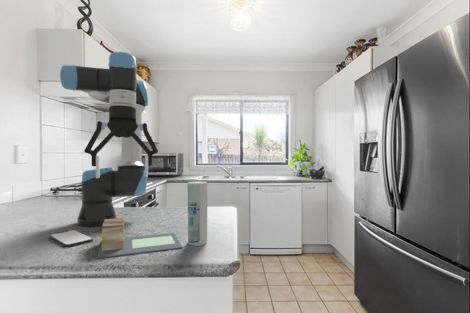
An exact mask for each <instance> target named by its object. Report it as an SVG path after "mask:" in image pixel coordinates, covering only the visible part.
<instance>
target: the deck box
mask: <svg viewBox="0 0 470 313" xmlns="http://www.w3.org/2000/svg"><path fill="white" fill-rule="evenodd" d="M124 238H125V218H124V217H117V218H115V219H105V220H104V223H103V225H101V241H102V251H103V250H112V249H121V248H124Z"/></svg>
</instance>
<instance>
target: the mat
mask: <svg viewBox="0 0 470 313" xmlns="http://www.w3.org/2000/svg"><path fill="white" fill-rule="evenodd" d="M180 249H183V246H182V244H181V242H180V241H179V239H178V237H177V236H176V234H175V232H168V233H158V234H157V233H156V234H148V235H147V234H146V235H139V236H138V235H137V236H128V237H124V248H121V249H112V250H103V251H102V240H101V242H100V244H99V247H98V251H97V255H96V260H98V259H99V260H100V259H105V258H106V259H107V258H108V259H109V258H114V257H123V256H131V255H139V254H146V253H154V252H155V253H156V252H164V251H173V250H180Z"/></svg>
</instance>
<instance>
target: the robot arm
mask: <svg viewBox="0 0 470 313" xmlns="http://www.w3.org/2000/svg"><path fill="white" fill-rule="evenodd" d="M136 60H137V59H136V57H135V56H134V55H132V54H131V53H128V52H123V51H115V52H111V53H110V54H109V58H108V68H102V67H91V66H89V67H88V66H81V65H75V64H72V65H70V64H69V65H66V64H65V65H62V66H61V67H60V72H59V76H60V83H61V86H62V87H63V89H65V90H70V91H73V92H74V91H80V92H83V93H86V94H88V96H89V97H91V98H92V99H94V100H96V101H99V102H102V103H105V104H109V105H110V106H109V107H108V122H103V121H100V120H99V121H97V122H96V128H95V130H94V132H93V134H92V136H91V137H90V140H89V141H88V144H87V145H86V147H85V148H84V150H83V152H84V153H85V154H88V155H89V156H91V166H92V167H95V169H88V170H87V169H86V170H85V171H83V172H82V175H81V176H82V177H81V207H80V210H79V213H78V216H77V219H76V220H77V226H81V227H98V226H102V225H103V223H104V220H105V219H115V218H118V217H117V214H116V211H115V207H114V205H113V198H121V197H123V198H124V197H128V198H129V197H139V196H140V197H141V196H144V195H145V194H146V192H147V184H148V177H149V166H152V165H153V155H154V154H158V152H159V150H158V148H157V146H156V144H155V142H154V140H153V138H152V136H151V134H150V133H149V130H148V125H147V123H146V122H144V123H143V121H142V120H143V116H142V115H143V114H142V113H143V112H144V111H145V110H146V107H147V106H149V98H148V90H147V84H146V82H145V81H144V80H138V79H137V61H136ZM105 128H108V129H109V131H110V132H109V133H108V134H107V136H106V137H104V139H102V140H101V142H100V143H99V144H98V145H97V146H96V147H95V148H93V147H94V145H95V143H96V141H97V139H98V138H99V136H100V135H101V132H102V130H105ZM142 132H143V133H142ZM143 134H144V136H145V139H146V141H147V142H148V144H149V146H150V148H151V150H150V148H149V147H148V146H147V145H146V144H145V143H144V142H143V141H142V140H143V139H142V136H143ZM113 137H116V138H121V155H120V156H121V158H120V159H121V162H120V163H119V165H117V170H113V167H111V166H110V167H109V166H108V167H100V165H101V164H100V155H97V154H98V153H99V152H100V151H101V150H103V148H104V147H105V146H106V145H107V144H108V142H109V143H110V141H111V140H112V139H113ZM92 148H93V150H92ZM143 151H144V152H145V153H146V155H144V163H143V162H142V159H143V157H142V156H143V155H142V154H143V153H142V152H143Z"/></svg>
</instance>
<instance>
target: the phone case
mask: <svg viewBox="0 0 470 313" xmlns="http://www.w3.org/2000/svg"><path fill="white" fill-rule="evenodd" d="M48 239H49V240H50V239H51V241H52V240H53V242H54V243H56V244H57V243H58V244H57V245H59V244H60V245H59V246H61V245H62V246H61V247H63V248H65V247H68V248H73V247H77V246H81V244H82V245H85V243H86V244H88V243H89V244H90V243H93V242H94V238H92V237H91V236H89V235H87V234H84V233H82V232H80V231H78V230H76V229H75V230H74V229H71V230H68V231H67V230H66V231H63V232H57V233H56V232H55V233H52V234H49V236H48Z"/></svg>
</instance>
